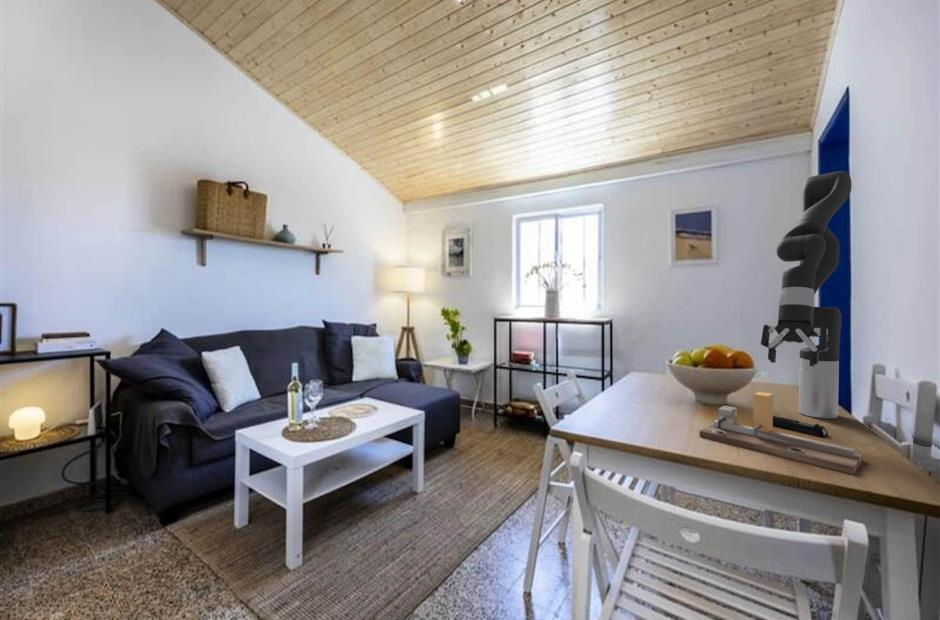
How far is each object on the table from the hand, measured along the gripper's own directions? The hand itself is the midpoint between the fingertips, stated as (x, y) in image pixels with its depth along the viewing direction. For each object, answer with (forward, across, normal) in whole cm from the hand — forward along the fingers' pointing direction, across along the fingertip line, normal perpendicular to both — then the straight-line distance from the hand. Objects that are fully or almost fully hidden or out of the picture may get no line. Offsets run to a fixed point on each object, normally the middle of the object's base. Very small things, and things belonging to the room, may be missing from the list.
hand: (791, 364), depth 111 cm
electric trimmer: (+18, 0, -7) cm, 19 cm away
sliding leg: (+19, +2, +13) cm, 23 cm away
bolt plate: (+22, 0, +13) cm, 25 cm away
